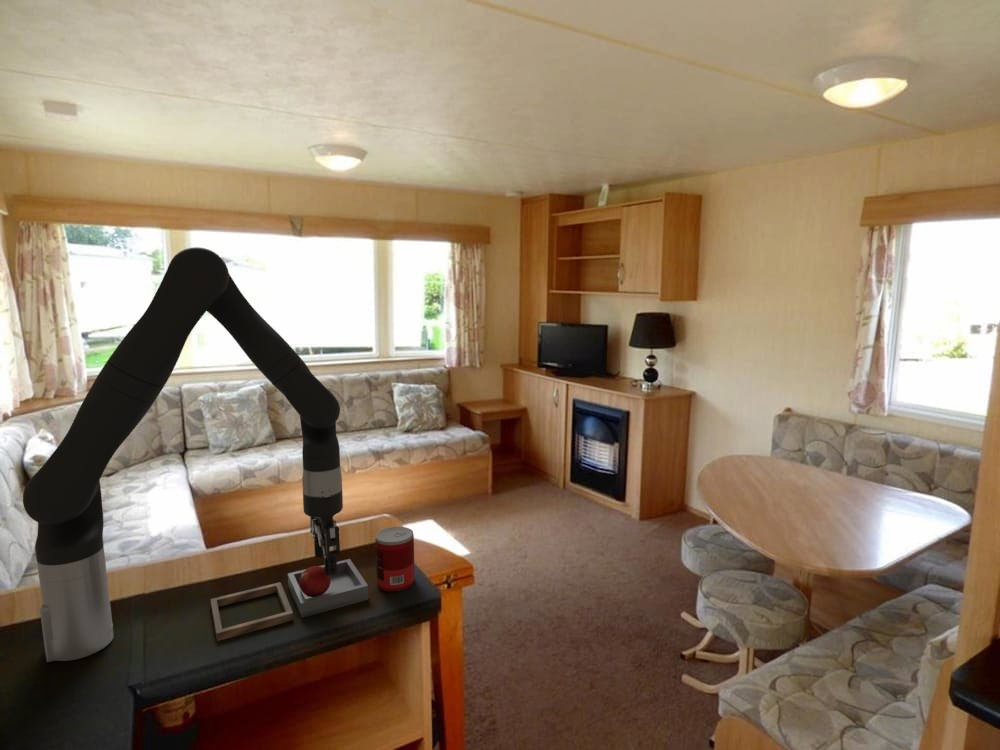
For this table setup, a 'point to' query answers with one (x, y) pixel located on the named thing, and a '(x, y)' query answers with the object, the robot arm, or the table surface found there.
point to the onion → (314, 581)
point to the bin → (331, 590)
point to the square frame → (254, 624)
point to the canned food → (394, 558)
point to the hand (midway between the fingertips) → (325, 564)
